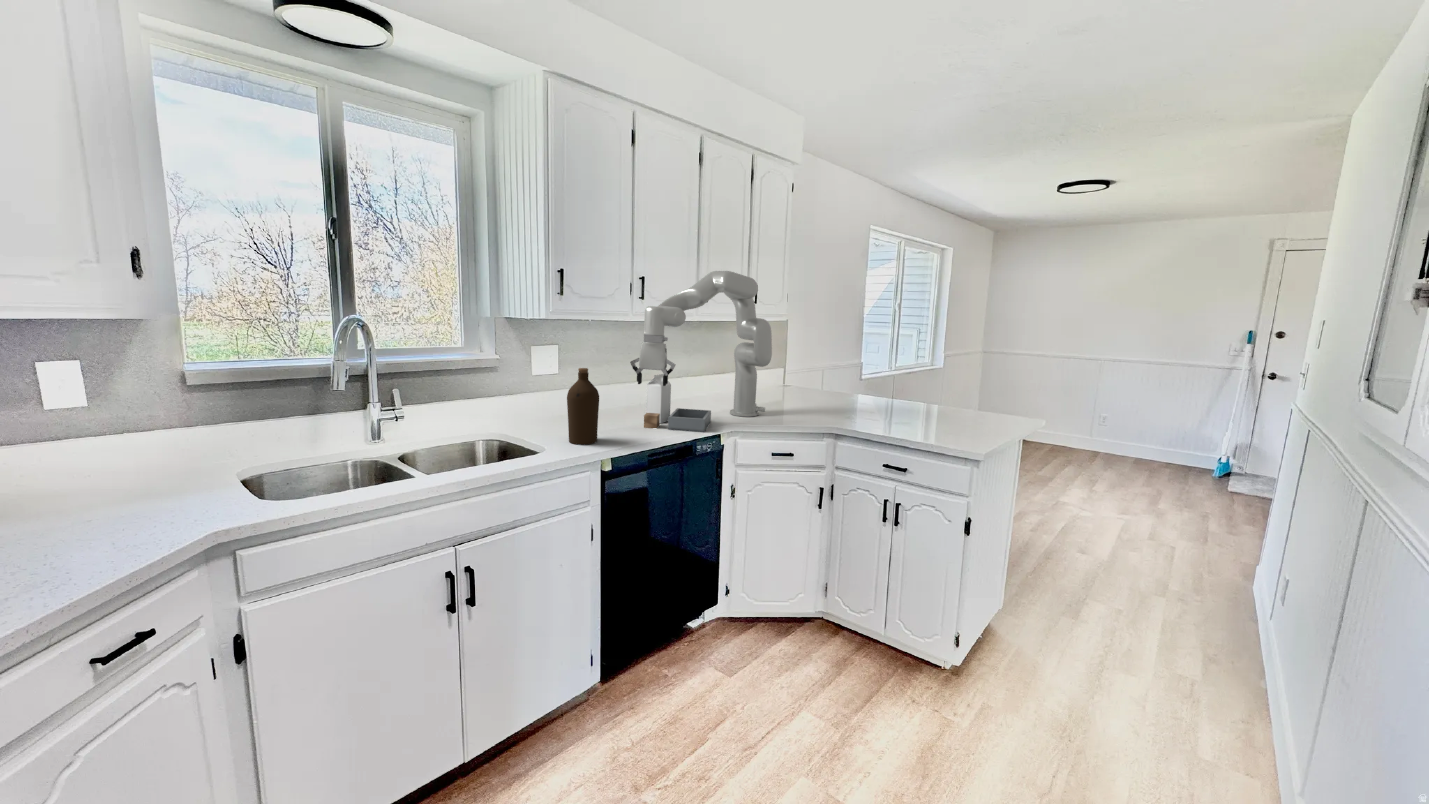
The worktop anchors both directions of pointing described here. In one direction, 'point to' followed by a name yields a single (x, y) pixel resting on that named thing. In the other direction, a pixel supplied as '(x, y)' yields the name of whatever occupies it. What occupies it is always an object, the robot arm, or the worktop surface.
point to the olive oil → (583, 410)
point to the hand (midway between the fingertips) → (652, 384)
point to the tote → (689, 420)
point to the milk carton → (658, 397)
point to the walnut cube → (651, 420)
